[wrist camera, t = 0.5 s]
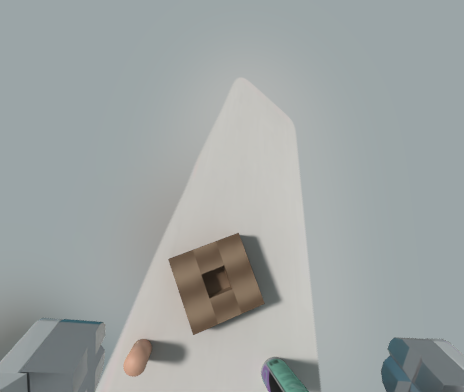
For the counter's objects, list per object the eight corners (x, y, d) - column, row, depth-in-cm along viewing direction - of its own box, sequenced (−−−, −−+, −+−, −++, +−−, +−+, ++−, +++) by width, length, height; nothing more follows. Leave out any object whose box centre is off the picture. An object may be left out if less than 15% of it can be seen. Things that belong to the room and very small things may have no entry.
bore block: (258, 298, 56) (264, 303, 51) (193, 327, 53) (193, 335, 48) (234, 234, 58) (238, 233, 53) (170, 258, 55) (168, 259, 50)
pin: (154, 354, 51) (148, 370, 45) (135, 362, 51) (127, 380, 44) (148, 335, 52) (142, 349, 45) (130, 343, 51) (120, 358, 44)
